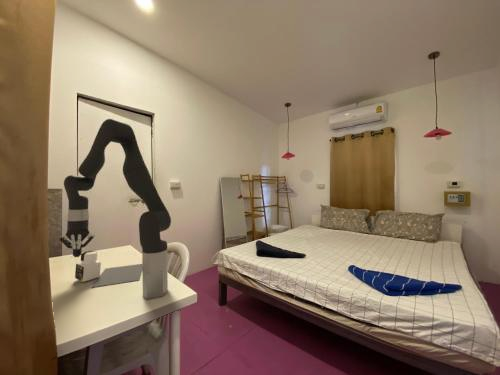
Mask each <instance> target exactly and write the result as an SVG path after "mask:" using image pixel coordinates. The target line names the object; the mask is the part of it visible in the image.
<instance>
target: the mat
mask: <svg viewBox="0 0 500 375" xmlns="http://www.w3.org/2000/svg"><path fill="white" fill-rule="evenodd" d="M141 274H142V263H138V264H129V265H123V266H115V267H107V268H104V269H103V271H102V272H101V273H100V277H98V278H96V280H95V282H94V283H93V284H92V286H91V287H90V288H91V289H93V288H99V287H107V286H112V285H118V284H124V283H133V282H138V281H140V279H141Z"/></svg>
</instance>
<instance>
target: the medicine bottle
mask: <svg viewBox="0 0 500 375" xmlns="http://www.w3.org/2000/svg"><path fill="white" fill-rule="evenodd" d="M101 266H102V262H101V261H99V260H98V252H97V251H95V250H88V251H84V252H82V254H81V255H80V262H76V263H75V273H74V274H75V275H74V279H75V280H78V281H80V282H81V283H84V282H88V281H90V280H94V279H98V278H99V277H100V275H101V269H102V268H101Z"/></svg>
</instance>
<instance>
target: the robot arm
mask: <svg viewBox="0 0 500 375" xmlns="http://www.w3.org/2000/svg"><path fill="white" fill-rule="evenodd" d="M111 142H112V143H115V144H116V143H117V144H120V146H121V147H122V150H123V153H124V155H125V156H124V161H123V164H122V174H123V176H124V179H125V181H126V183H127V186H128V188H130V189H131V191H132V192H133V193H134V194H135V195H136V196H137V197H139V198H140V200H142V202H143V203H144V204H145V206H146V208H147V210H148V211H145V212H143V213H142V214H141V215H140V217H139V219H138V220H139V221H138V231H139V232H138V234H139V244H140V246H141V249H142V252H141V253H142V255H141V256H142V259H141V260H142V261H141V264H142V272H141V274H142V297H143V298H145V300H151V299H155V298H160V297H164V296H165V294H167V293H168V287H169V285H168V284H169V283H168V282H169V280H168V277H169V276H168V275H169V274H168V271H169V270H168V242H167V241H166V240H163V239H161V232H165V231H166V230H168V229H169V228H170V227H171V226H172V225H171V223H172V219H171V215H170V213H169V210H168V209H167V207H166V206H165V204H164V202H163V200H162V198H161V196H160V195H159V192H158V190H157V188H156V186H155V183H154V182H153V179H152V176H151V174H150V171H149V169H148V167H147V164H146V163H145V161H144V158H143V156H142V152H141V150H140V147H139V145H138V144H139V143H138V142H137V138H136V135H135V132H134V129H133V128H132V126H131V125H129V124H128V123H126V122H123V121H119V120H116V119H114V118H107V119H105V120H104V121H103V122H102V123H101V125H100V126H99V129H98V131H97V134H96V136H95V137H94V140H93V143H92V144H91V147H90V150H89V152H88V154H87V155H86V156H85V158H84V160H83V161H82V162H81V164H80V165H79V167H78V169H77V171H78V173H79V174H80V175H74V174H72V175H67V176H66V177H65V178H64V181H63V187H64V190H65V193H66V196H67V199H68V208H67V209H68V210H67V221H66V222H67V223H66V226H67V227H66V233H65V235H63V236H62V237H60V238H59V241H60V242H61V243H62V244H63V245H64V246H65V247H66V248H67V249H71V250H72V256H73V257H74V258H80V257H81V254H82V253H83V252H82V249H83V248H85V247H87V246H88V244H90V242H92V241H93V239H94V238H95V236H96V235H93V234H91V233H90V230H89V218H90V214H89V198H88V197H87V196H84V195H80V194H79V192H88V191H90V190H91V189H93V187H94V186H95V182H96V178H97V175H98V174H99V173H100V171H101V170H102V169H103V167H104V165H105V162H106V155H105V151H106V148H107V146H108V145H109V144H110V143H111ZM86 238H87V240H86V241H85V242H84V240H85V239H86Z"/></svg>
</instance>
